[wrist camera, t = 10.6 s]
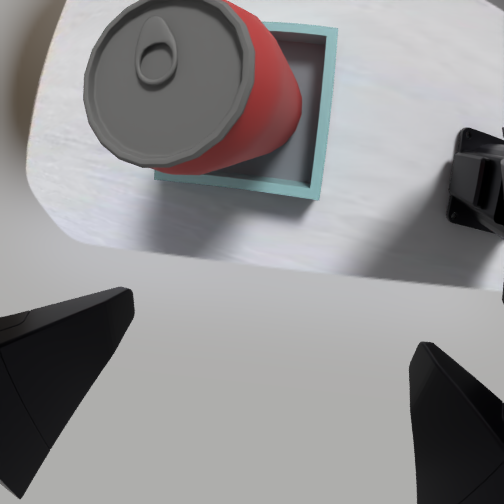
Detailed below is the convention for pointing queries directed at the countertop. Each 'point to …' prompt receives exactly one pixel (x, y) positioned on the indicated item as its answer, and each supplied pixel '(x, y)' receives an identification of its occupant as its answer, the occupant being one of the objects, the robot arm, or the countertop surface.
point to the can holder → (309, 127)
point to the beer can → (189, 87)
